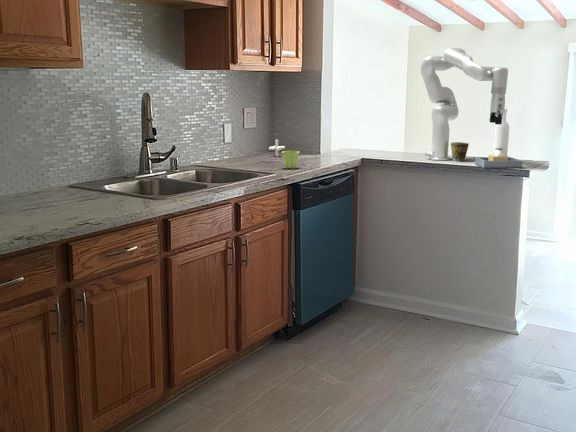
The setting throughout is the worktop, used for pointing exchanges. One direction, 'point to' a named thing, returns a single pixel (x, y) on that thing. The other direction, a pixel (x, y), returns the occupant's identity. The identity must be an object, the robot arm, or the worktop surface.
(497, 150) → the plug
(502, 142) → the bottle
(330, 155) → the worktop surface
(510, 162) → the box
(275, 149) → the pipe connector
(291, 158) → the plant pot
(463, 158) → the ceramic cup
